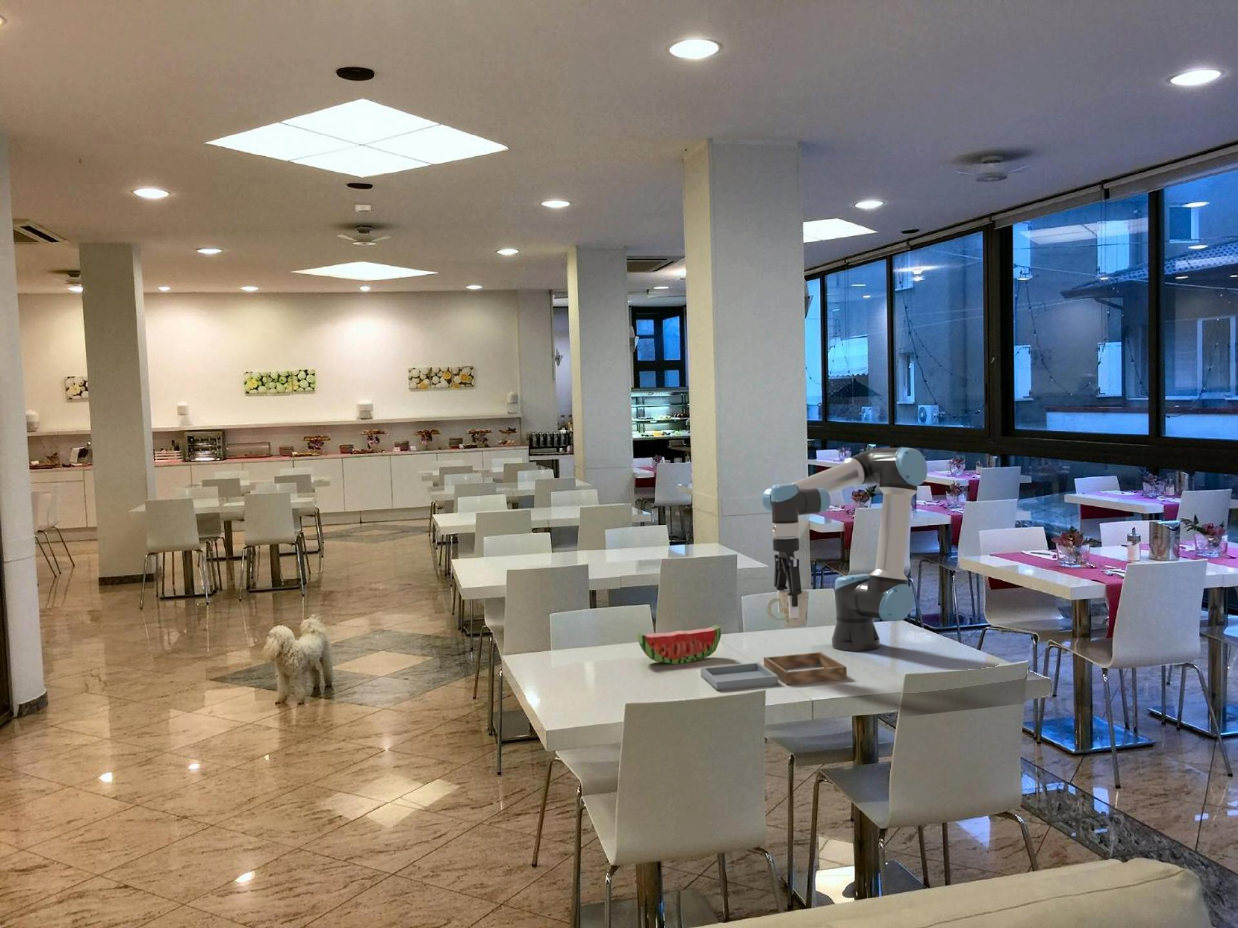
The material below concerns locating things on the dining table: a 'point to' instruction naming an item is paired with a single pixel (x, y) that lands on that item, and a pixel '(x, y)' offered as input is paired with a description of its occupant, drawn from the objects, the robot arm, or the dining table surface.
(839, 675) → the corral
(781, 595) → the mug
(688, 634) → the fruit slice
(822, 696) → the dining table surface
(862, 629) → the robot arm
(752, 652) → the dining table surface
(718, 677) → the tray
